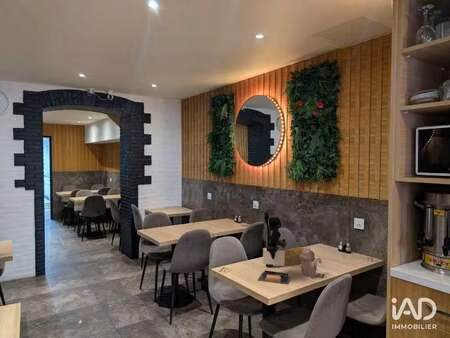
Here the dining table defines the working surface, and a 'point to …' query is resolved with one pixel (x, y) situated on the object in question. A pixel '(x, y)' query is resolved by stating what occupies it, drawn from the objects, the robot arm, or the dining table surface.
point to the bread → (294, 256)
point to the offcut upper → (273, 277)
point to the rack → (284, 276)
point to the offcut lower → (273, 281)
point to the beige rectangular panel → (277, 260)
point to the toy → (308, 263)
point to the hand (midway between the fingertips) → (273, 258)
